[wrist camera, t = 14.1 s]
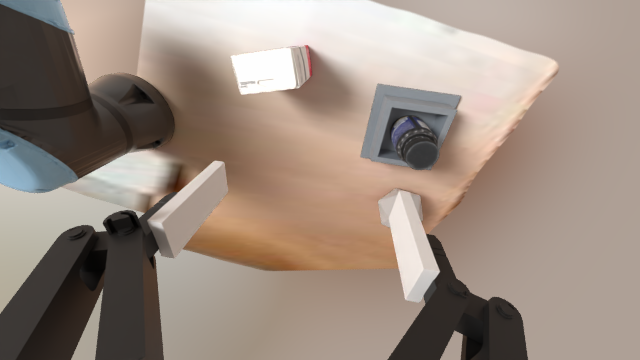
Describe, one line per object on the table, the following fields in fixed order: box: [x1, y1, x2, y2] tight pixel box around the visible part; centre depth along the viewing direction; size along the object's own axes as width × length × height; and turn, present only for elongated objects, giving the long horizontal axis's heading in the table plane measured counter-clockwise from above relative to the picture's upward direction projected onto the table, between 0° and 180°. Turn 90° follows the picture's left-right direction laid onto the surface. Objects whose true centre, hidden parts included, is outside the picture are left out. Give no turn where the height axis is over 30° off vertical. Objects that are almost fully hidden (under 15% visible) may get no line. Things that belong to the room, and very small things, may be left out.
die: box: [378, 188, 423, 228], centre depth 48 cm, size 8×9×10 cm
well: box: [360, 84, 461, 170], centre depth 40 cm, size 14×14×4 cm
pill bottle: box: [390, 115, 439, 170], centre depth 37 cm, size 6×6×11 cm
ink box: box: [230, 45, 312, 95], centre depth 34 cm, size 8×5×12 cm, turn 98°
